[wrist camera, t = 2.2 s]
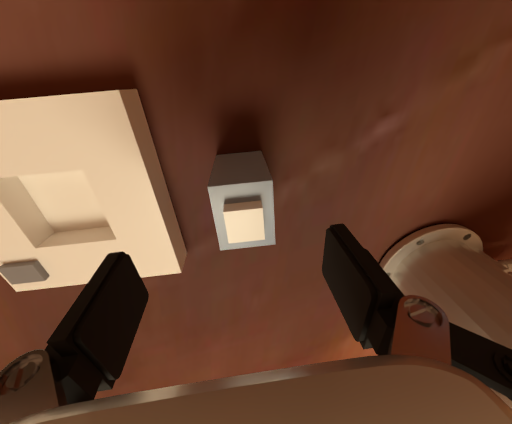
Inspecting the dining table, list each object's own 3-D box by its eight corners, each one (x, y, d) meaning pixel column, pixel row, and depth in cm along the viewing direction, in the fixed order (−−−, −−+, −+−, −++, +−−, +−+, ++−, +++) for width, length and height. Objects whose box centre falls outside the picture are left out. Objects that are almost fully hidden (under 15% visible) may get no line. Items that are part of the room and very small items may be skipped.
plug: (261, 150, 20) (275, 186, 13) (264, 200, 22) (277, 253, 15) (216, 155, 19) (205, 194, 13) (224, 204, 22) (219, 259, 15)
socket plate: (137, 89, 16) (114, 90, 13) (187, 252, 25) (180, 277, 21) (-87, 108, 16) (-164, 114, 13) (39, 269, 24) (11, 296, 21)
